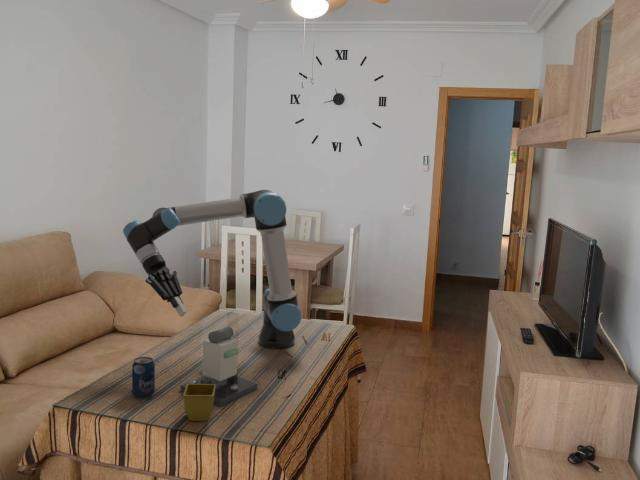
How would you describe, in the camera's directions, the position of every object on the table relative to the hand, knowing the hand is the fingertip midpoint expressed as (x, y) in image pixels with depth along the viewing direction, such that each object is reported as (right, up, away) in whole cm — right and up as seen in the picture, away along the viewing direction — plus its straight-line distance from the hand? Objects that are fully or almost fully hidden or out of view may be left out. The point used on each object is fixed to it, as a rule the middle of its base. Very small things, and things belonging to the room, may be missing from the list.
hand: (183, 314), depth 208 cm
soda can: (-10, -25, -14) cm, 30 cm away
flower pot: (+11, -28, -27) cm, 41 cm away
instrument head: (+14, -21, -8) cm, 27 cm away
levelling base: (+14, -25, -7) cm, 29 cm away
